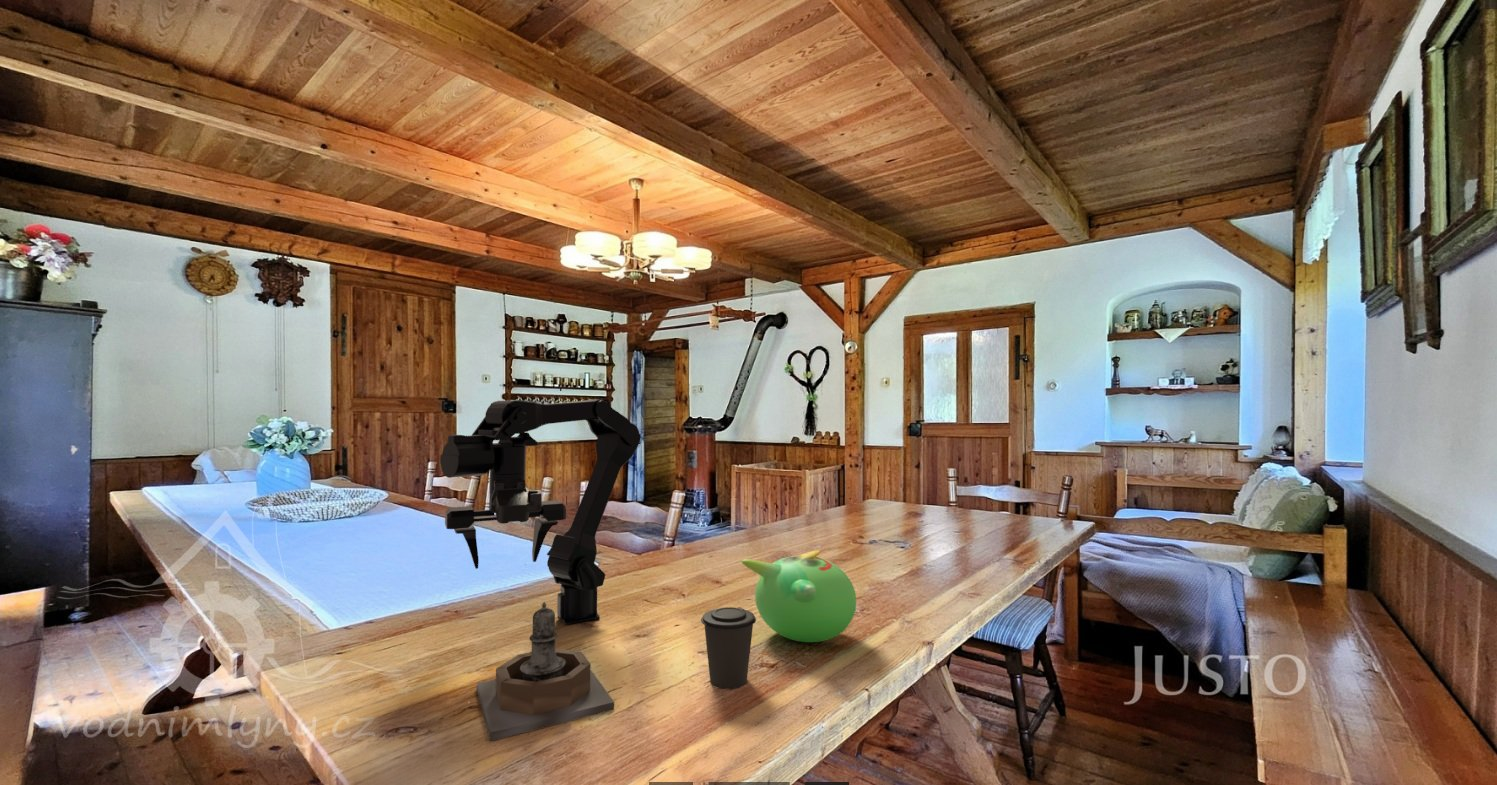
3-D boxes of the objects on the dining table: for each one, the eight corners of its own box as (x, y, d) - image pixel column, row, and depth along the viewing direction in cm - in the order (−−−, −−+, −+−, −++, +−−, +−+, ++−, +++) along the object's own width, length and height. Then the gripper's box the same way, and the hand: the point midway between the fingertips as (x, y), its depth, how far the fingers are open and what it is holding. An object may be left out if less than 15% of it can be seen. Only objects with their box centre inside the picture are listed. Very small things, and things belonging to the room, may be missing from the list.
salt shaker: (566, 698, 78) (567, 606, 79) (518, 704, 77) (520, 611, 77) (564, 679, 84) (565, 593, 84) (520, 685, 82) (522, 597, 83)
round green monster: (873, 638, 102) (873, 553, 103) (815, 668, 90) (815, 571, 91) (792, 614, 115) (792, 538, 115) (731, 638, 102) (732, 552, 103)
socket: (584, 667, 90) (584, 637, 90) (614, 709, 77) (614, 674, 78) (476, 690, 83) (477, 657, 83) (490, 741, 70) (491, 702, 70)
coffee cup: (763, 673, 88) (763, 605, 89) (745, 697, 81) (745, 623, 81) (713, 665, 91) (713, 600, 92) (691, 688, 83) (691, 616, 84)
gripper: (450, 480, 90) (448, 584, 89) (574, 474, 99) (572, 568, 99) (445, 474, 100) (443, 567, 99) (559, 469, 109) (558, 554, 108)
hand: (506, 564), depth 101 cm, fingers open, 9 cm apart
